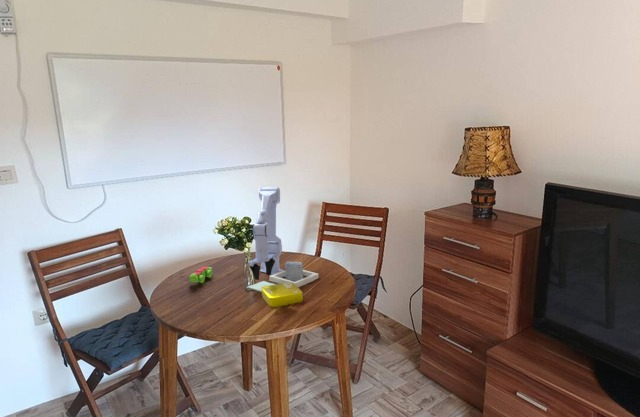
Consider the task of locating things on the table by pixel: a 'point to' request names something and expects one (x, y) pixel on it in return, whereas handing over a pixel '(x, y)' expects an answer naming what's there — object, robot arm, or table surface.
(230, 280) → the table surface
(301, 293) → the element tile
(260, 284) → the mat
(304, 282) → the white square frame
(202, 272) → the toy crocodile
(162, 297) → the table surface
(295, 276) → the medicine box
